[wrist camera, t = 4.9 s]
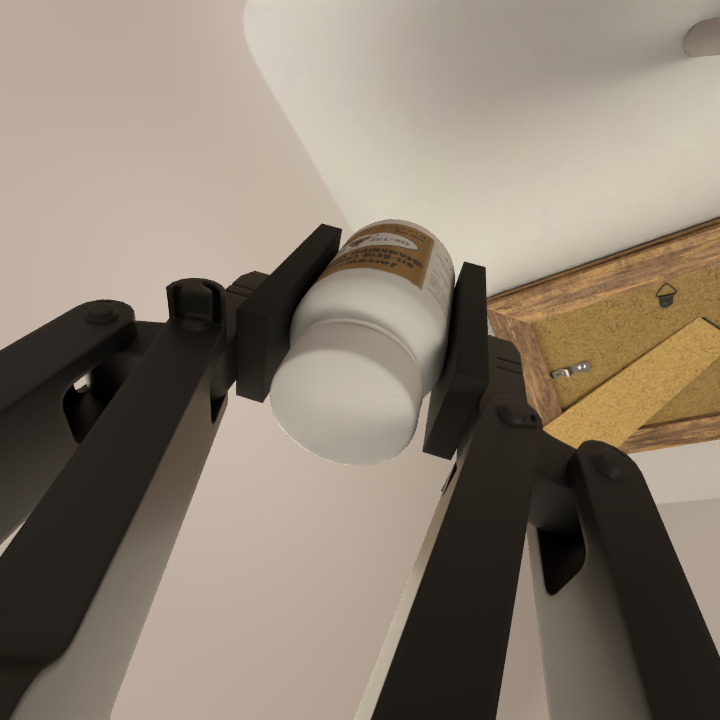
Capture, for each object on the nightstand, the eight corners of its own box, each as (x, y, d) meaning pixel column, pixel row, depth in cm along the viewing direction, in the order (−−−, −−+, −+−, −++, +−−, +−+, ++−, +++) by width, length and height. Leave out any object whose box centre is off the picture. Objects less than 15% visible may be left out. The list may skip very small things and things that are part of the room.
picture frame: (546, 455, 42) (874, 398, 31) (548, 468, 40) (893, 414, 30) (483, 298, 34) (891, 156, 24) (484, 308, 32) (919, 161, 22)
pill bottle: (425, 193, 14) (380, 298, 7) (473, 305, 15) (469, 464, 9) (317, 247, 15) (209, 365, 9) (371, 341, 17) (311, 491, 11)
